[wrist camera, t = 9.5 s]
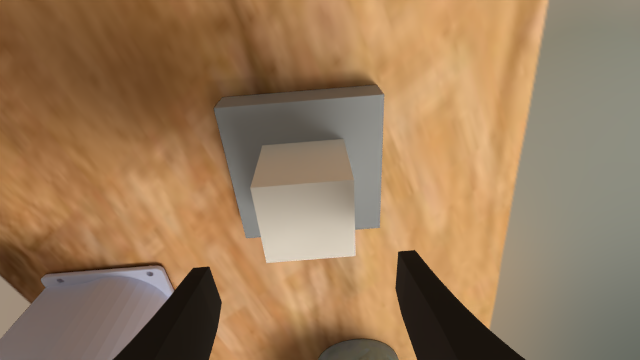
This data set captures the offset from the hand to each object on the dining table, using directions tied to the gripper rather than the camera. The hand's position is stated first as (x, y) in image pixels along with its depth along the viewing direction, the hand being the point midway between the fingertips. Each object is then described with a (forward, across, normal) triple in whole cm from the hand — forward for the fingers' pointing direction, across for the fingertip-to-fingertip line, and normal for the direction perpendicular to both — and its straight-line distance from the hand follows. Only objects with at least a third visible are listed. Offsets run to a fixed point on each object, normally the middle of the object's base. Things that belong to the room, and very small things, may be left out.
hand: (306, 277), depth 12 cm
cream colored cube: (+8, 0, 0) cm, 8 cm away
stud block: (+10, 0, 0) cm, 10 cm away
